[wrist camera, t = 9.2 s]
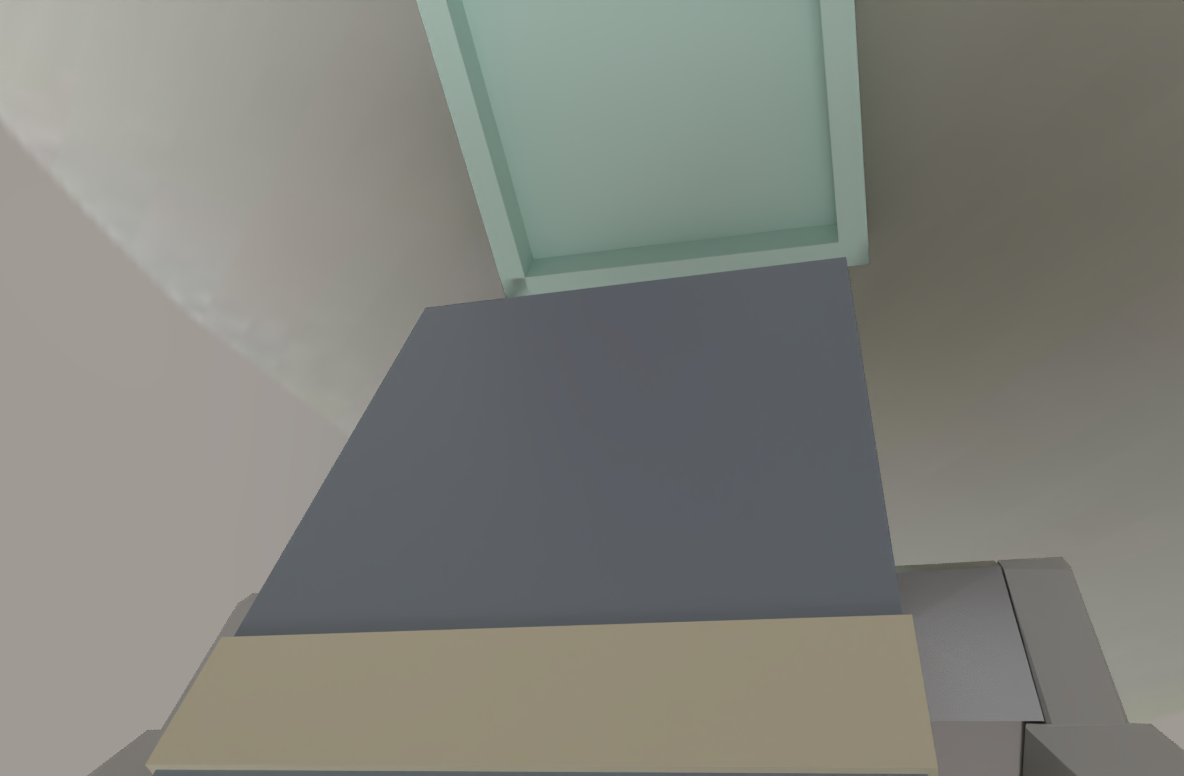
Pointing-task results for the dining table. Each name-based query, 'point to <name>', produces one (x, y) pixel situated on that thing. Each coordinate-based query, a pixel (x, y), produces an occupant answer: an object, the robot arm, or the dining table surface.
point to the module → (589, 555)
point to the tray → (655, 134)
